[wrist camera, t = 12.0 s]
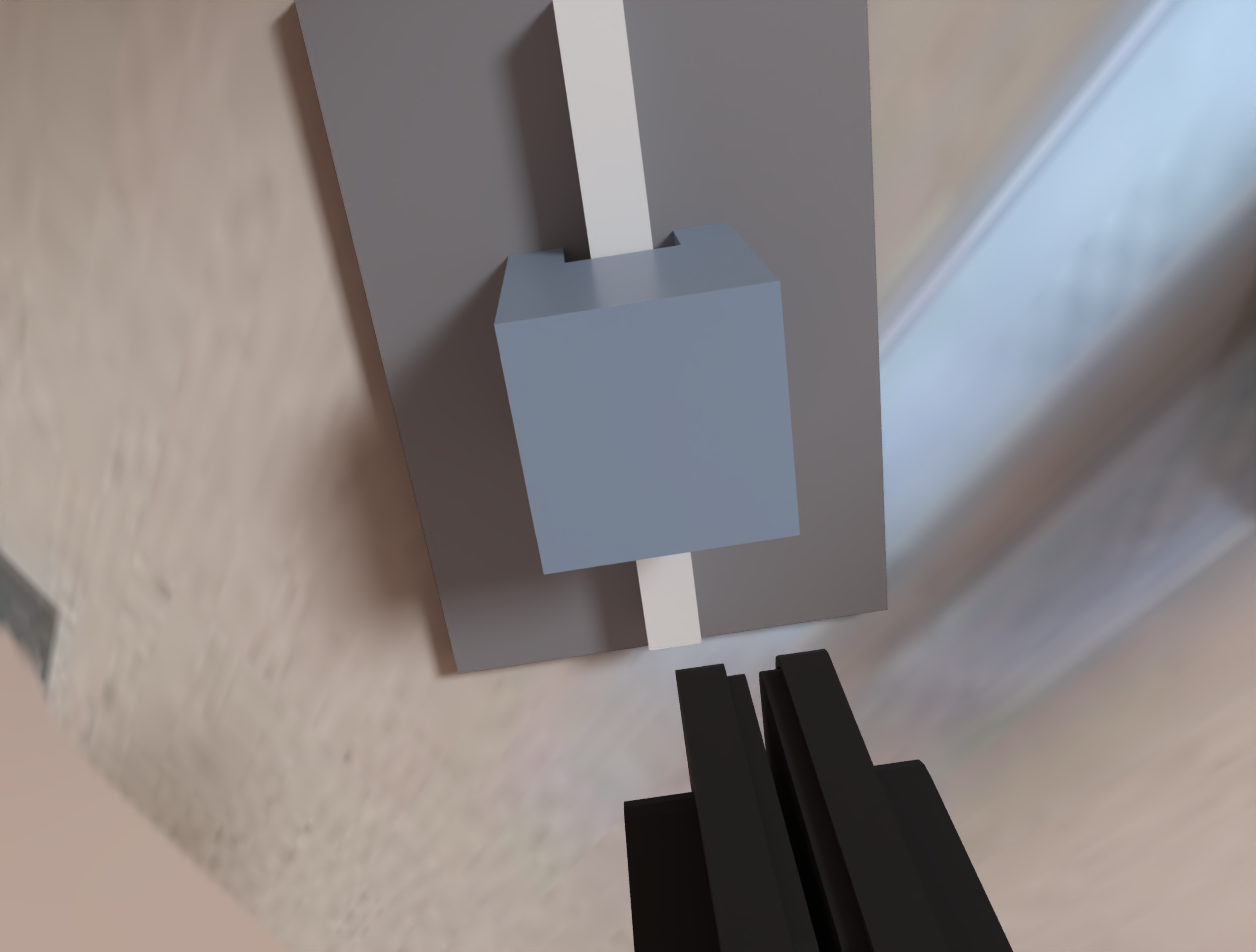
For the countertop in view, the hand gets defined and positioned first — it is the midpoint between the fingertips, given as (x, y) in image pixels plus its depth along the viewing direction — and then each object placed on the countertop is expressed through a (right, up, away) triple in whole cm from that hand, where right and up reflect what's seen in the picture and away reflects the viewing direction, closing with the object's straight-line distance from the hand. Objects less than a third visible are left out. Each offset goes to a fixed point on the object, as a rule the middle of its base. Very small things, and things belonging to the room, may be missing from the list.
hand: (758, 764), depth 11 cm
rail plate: (-1, +7, +18) cm, 20 cm away
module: (-1, +7, +17) cm, 19 cm away
